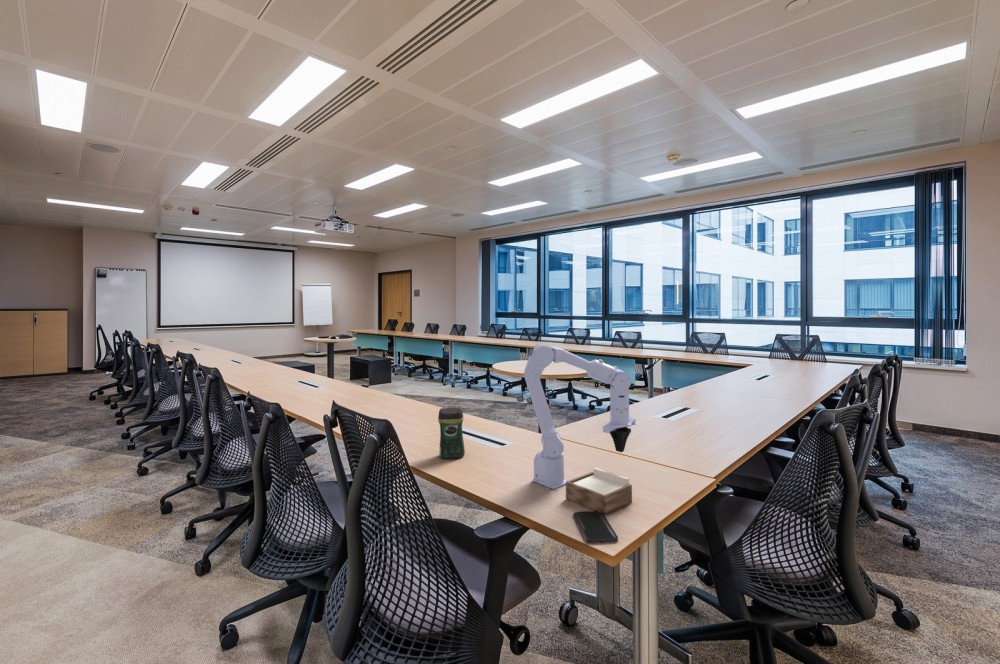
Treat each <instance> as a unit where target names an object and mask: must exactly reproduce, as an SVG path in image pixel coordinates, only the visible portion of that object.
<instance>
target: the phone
mask: <svg viewBox="0 0 1000 664" xmlns="http://www.w3.org/2000/svg"><path fill="white" fill-rule="evenodd" d="M572 514H573V519H574V521H575V523H576V525H577V527H578V530H579V531H580V534H581V535H582V538H583V539H584V542H585V543H587V544H589V545H590V544H592V545H595V544H596V545H597V544H610V543H611V544H612V543H615V544H616V543H618V542H619V536H618V535H617V533H616V531H614V529H613V527H612V526H611V524H610V522H609V521H608V519H607V518H606V515H604V514H603V513H602V512H601V511H594V510H588V511H587V510H586V511H585V510H584V511H575V512H573V513H572Z"/></svg>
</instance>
